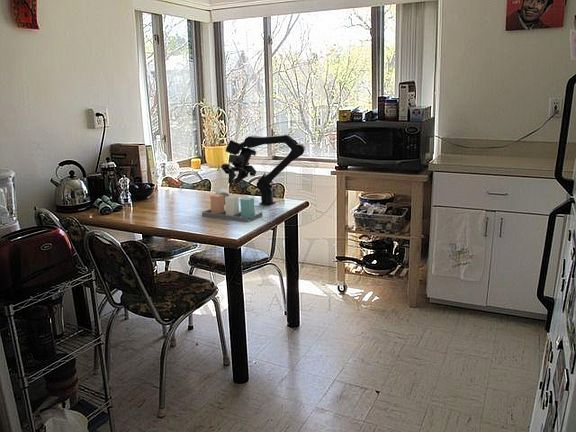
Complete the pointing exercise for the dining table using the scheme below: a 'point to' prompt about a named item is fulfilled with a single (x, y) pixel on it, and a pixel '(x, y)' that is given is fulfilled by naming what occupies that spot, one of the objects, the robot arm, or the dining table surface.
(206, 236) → the dining table surface
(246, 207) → the teal block
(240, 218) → the grey tray
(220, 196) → the pink upright block
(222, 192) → the ceramic mug
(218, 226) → the dining table surface
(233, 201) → the white rectangular block
